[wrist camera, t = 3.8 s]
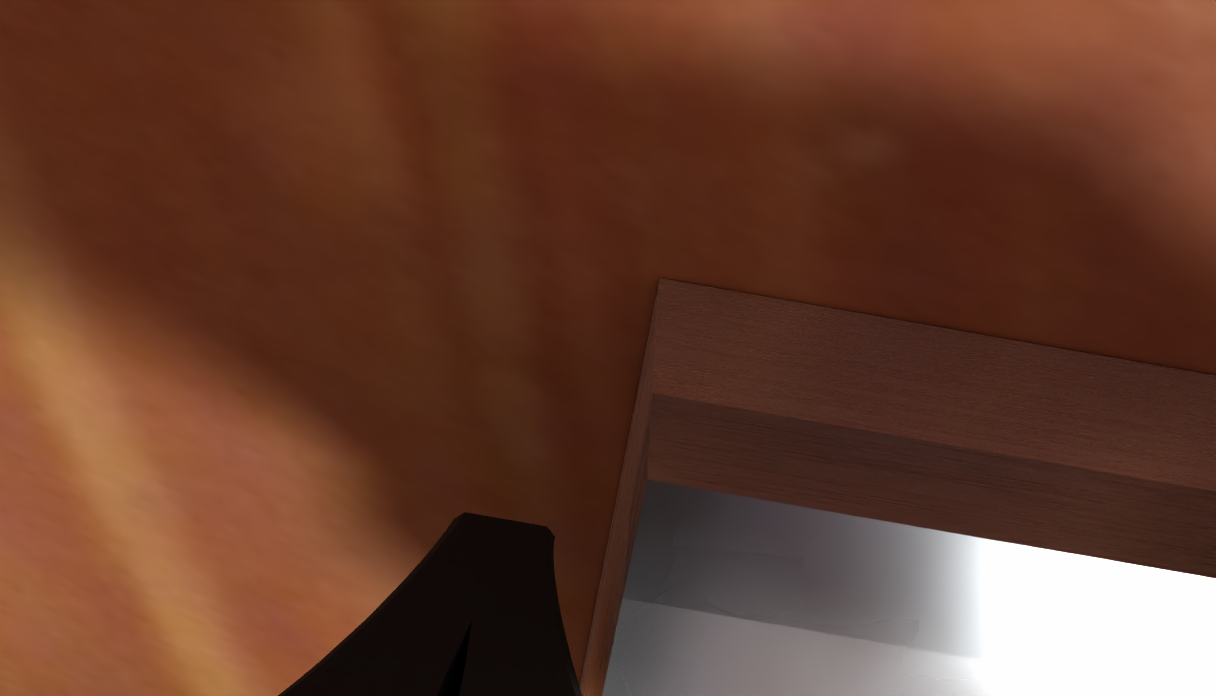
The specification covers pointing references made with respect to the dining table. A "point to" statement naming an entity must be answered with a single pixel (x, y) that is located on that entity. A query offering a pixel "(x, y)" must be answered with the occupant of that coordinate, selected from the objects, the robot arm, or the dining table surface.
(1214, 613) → the block
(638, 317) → the dining table surface
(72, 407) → the dining table surface
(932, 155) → the dining table surface
